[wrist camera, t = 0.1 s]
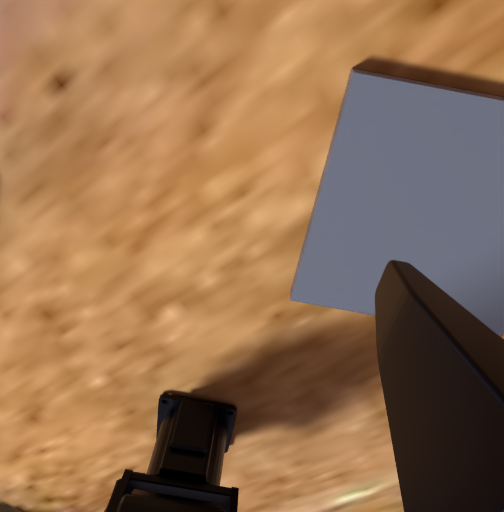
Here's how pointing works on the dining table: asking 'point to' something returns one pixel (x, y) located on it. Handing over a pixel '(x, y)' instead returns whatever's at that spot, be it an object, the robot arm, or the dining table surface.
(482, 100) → the build plate
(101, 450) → the dining table surface
